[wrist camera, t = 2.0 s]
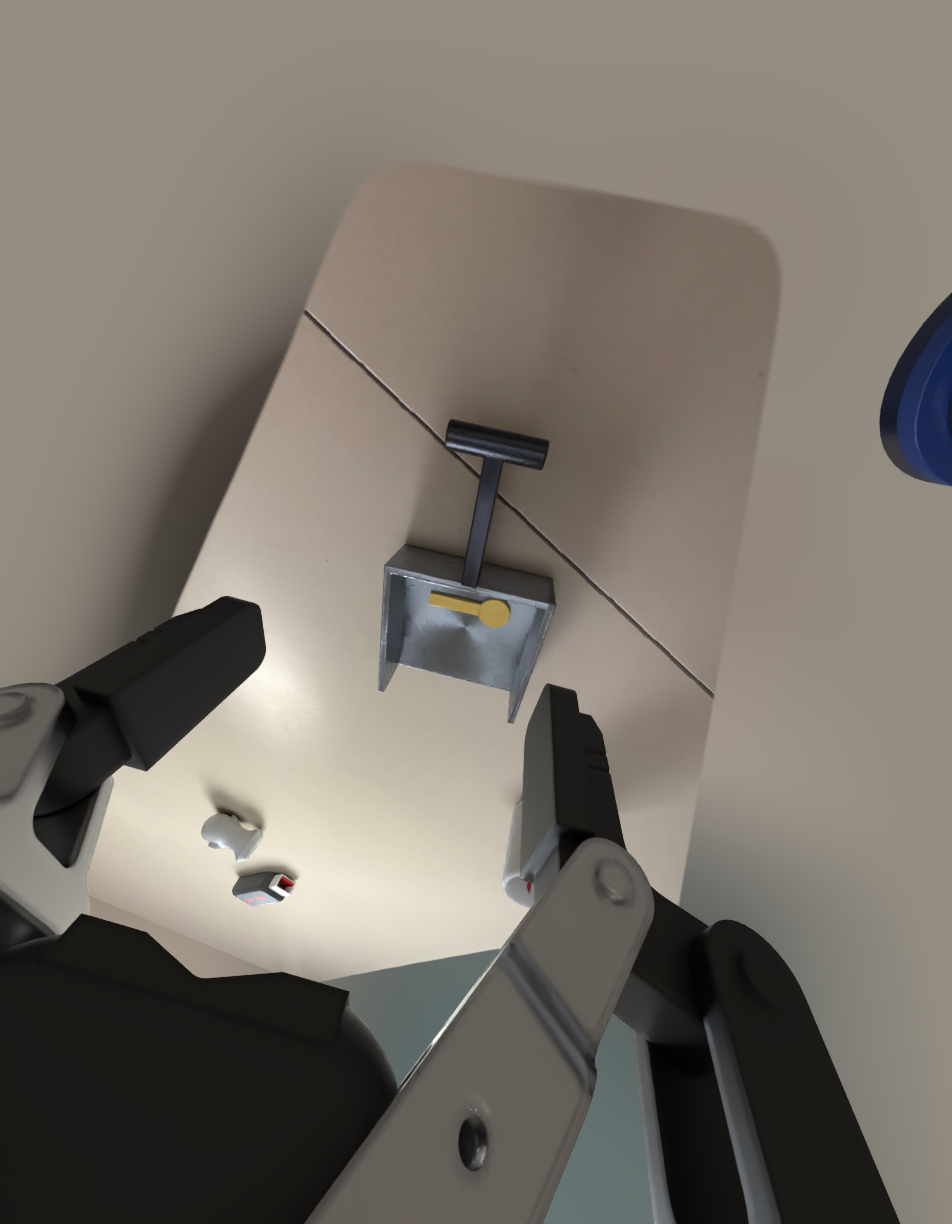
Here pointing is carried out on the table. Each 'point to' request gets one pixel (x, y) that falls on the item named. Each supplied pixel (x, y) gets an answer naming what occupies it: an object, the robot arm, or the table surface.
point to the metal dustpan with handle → (468, 588)
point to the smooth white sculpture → (230, 835)
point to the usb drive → (263, 888)
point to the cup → (516, 865)
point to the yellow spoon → (475, 608)
